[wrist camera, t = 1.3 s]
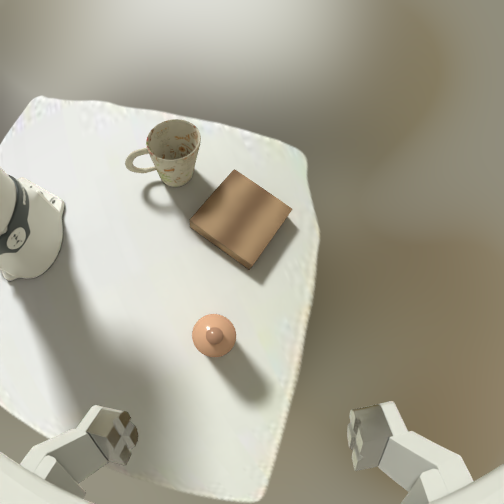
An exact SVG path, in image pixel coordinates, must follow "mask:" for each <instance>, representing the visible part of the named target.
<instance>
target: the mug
mask: <svg viewBox="0 0 504 504" xmlns="http://www.w3.org/2000/svg"><path fill="white" fill-rule="evenodd" d="M200 141H201V137H200V133H199V131H198V129H197V128H196V127H195V126H194V125H193V124H192V123H190V122H188V121H184V120H178V119H175V120H168V121H164V122H162V123H160V124H158V125H157V126H155V127H154V128H153V129H152V130H151V131H150V133H149V135H148V137H147V141H146V145H147V148H143V149H139V150H136V151H134V152H132V153H131V154H130V155H129V156H128V157H127V159H126V161H125V165H126V167H127V169H128V170H130V171H132V172H136V173H148V172H151V171H154V170H157V172H158V174H159V176H160V178H161V180H162V181H163V182H164V183H165V184H166V185H168V186H172V187H179V186H182V185H184V184H186V183H187V182H188V181H189V180H190V179H191V177H192V175H193V171H194V167H195V162H196V158H197V154H198V150H199V146H200ZM144 154H150V157H151V159H152V161H153V163H154V165H155V167H150V168H137V167H135V166H134V165H133V160H134V159H135V158H136V157H137V156H140V155H144Z"/></svg>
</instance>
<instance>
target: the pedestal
mask: <svg viewBox="0 0 504 504" xmlns="http://www.w3.org/2000/svg"><path fill="white" fill-rule="evenodd" d="M291 210H292V208H290V207H289V206H287V205H286V204H285V203H283V202H282V201H280V200H279V199H277V198H276V197H275V196H273V195H272V194H270V193H269V192H267V191H266V190H264V189H263V188H262V187H260V186H259V185H257V184H256V183H254V182H253V181H251V180H250V179H248V178H247V177H245V176H244V175H242V174H241V173H239V172H238V171H236V170H235V169H234V170H233V171H232V172H231V173H230V174H229V176H228V177H227V178H226V179H225V180H224V181H223V182H222V183H221V184H220V186H219V187H218V188H217V189H216V190H215V191H214V192H213V193H212V195H211V196H210V197H209V198H208V199H207V200H206V201H205V203H204V204H203V205H202V206H201V207H200V208H199V209H198V211H197V212H196V213H195V214H194V215H193V217H192V218H191V219H190V227H191V228H192V229H193V230H195V231H196V232H198V233H199V234H200V235H202V236H203V237H204V238H206V239H207V240H209V241H210V242H211V243H213V244H214V245H215V246H217V247H218V248H220V249H221V250H222V251H224V252H225V253H227V254H228V255H229V256H231V257H232V258H234V259H235V260H236V261H238V262H239V263H241V264H242V265H243V266H245V267H246V268H248V269H249V270H250V268H251V267H252V266H253V265H254V263H255V262H256V260H257V259H258V257H259V256H260V255H261V253H262V252H263V250H264V249H265V248H266V246H267V245H268V243H269V242H270V240H271V239H272V238H273V236H274V235H275V233H276V232H277V230H278V229H279V228H280V226H281V225H282V223H283V222H284V220H285V219H286V218H287V216H288V215H289V213H290V212H291Z"/></svg>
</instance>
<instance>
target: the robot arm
mask: <svg viewBox="0 0 504 504" xmlns="http://www.w3.org/2000/svg"><path fill="white" fill-rule="evenodd" d="M54 202H55V203H54ZM53 203H54V204H53ZM63 210H64V201H63V200H62V199H61V198H59V197H57V196H55V195H53V194H52V193H50V192H48V191H46V190H45V189H43V188H41V187H39V186H38V185H36V184H34V183H32V182H31V181H29V180H27V179H25V178H23V177H21V178H19V179H15V178H14V177H12V176H10V175H7V174H6V173H5V171H4V170H3V169H2V168H1V167H0V269H1V271H2V274H3V276H4V278H5V279H6V280H8V281H12V280H15V279H17V278H27V279H29V278H35V277H37V276H39V275H41V274H43V273H44V272H45V271H46V270H47V269H48V268H49V267H50V266H51V265H52V263H53V262H54V260H55V259H56V257H57V255H58V252H59V250H60V247H61V243H62V237H63V226H62V214H63ZM130 419H131V417H130V415H129V414H128V412H126V411H121V410H116V409H112V408H107V407H102V406H98V405H94V406H92V407H91V409H90V410H89V411H88V413H87V414H86V415H85V417H84V418H83V420H82V421H81V422H80V424H79V425H78V426H77V428H76V429H71V430H69V431H66V432H64V433H62V434H60V435H58V436H56V437H53V438H51V439H49V440H47V441H45V442H42V443H40V444H38V445H36V446H33V447H32V449H31V450H30V451H29V453H28V454H27V455H26V457H25V458H24V459H23V461H22V462H21V463H20V465H19V464H18V463H16V462H15V461H13V460H12V459H10V458H9V457H7V456H6V455H5V454H3V453H2V452H0V504H95V503H93V502H90V501H88V500H85V499H83V498H84V496H85V494H86V492H85V490H84V489H83V488H82V487H81V486H80V485H79V483H80V482H82V481H83V480H85V479H86V478H87V477H89V476H90V475H92V474H93V473H94V472H96V471H97V470H99V469H100V468H101V467H103V466H104V465H106V464H107V463H108V461H109V462H113V463H117V464H122V465H126V464H127V462H128V460H129V458H130V456H131V451H130V449H132V448H133V447H135V446H136V444H137V441H138V431H137V428H136V426H135V425H134V424H133V423H131V422H130ZM350 421H351V423H349V424H348V434H347V437H348V443H349V448H351V449H352V450H353V454H352V461H353V465H354V469H355V471H357V470H362V469H367V468H372V467H377V466H378V467H379V468H380V469H381V470H382V471H383V472H385V473H386V474H387V475H388V476H389V477H391V478H392V479H393V480H394V481H396V482H397V483H398V484H400V485H401V486H402V487H403V488H405V489H406V490H407V491H408V492H409V493H408V494H407V496H406V497H405V499H404V500H403V501H402V503H401V504H504V464H502V465H501V466H499V467H498V468H496V469H494V470H493V471H491V472H490V473H488V474H486V475H485V476H483V477H481V478H480V479H478V480H476V481H473V479H472V477H471V475H470V473H469V471H468V469H467V467H466V465H465V464H464V462H463V460H462V458H461V456H460V455H458V454H455V453H453V452H451V451H449V450H447V449H445V448H443V447H441V446H439V445H437V444H435V443H433V442H432V441H430V440H428V439H426V438H424V437H422V436H420V435H419V434H417V433H415V432H413V431H410V432H408V430H407V428H406V426H405V424H404V422H403V420H402V418H401V416H400V413H399V411H398V409H397V407H396V405H395V403H394V402H393V401H390V402H386V403H381V404H377V405H372V406H367V407H363V408H357V409H352V410H351V412H350Z"/></svg>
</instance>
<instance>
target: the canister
mask: <svg viewBox="0 0 504 504" xmlns="http://www.w3.org/2000/svg"><path fill="white" fill-rule="evenodd" d="M192 338H193V342H194V345H195V347H196V348H197V349H198V350H199V351H200V352H201V353H202V354H204V355H206V356H209V357H220V356H223V355H225V354H227V353H228V352H229V351H230V350H231V349H232V348H233V346H234V344H235V341H236V331H235V328H234V326H233V324H232V323H231V322H230V321H229V320H228V319H227V318H226V317H224V316H221V315H218V314H210V315H206V316H204V317H202V318H201V319H199V320H198V321H197V323H196V324H195V326H194V328H193V332H192Z"/></svg>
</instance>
